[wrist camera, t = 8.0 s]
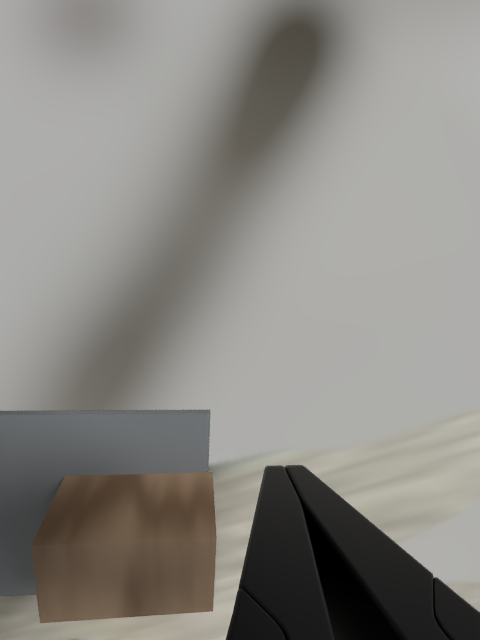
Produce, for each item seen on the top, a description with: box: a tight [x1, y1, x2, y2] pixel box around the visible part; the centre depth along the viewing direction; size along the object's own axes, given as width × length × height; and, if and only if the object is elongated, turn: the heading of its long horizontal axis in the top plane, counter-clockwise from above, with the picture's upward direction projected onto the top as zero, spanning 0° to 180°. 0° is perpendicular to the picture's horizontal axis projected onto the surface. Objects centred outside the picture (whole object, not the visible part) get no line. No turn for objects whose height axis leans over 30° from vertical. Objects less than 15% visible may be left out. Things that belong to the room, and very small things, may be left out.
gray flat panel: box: [0, 410, 210, 596], centre depth 22 cm, size 14×12×1 cm
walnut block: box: [31, 472, 216, 623], centre depth 20 cm, size 4×4×8 cm
